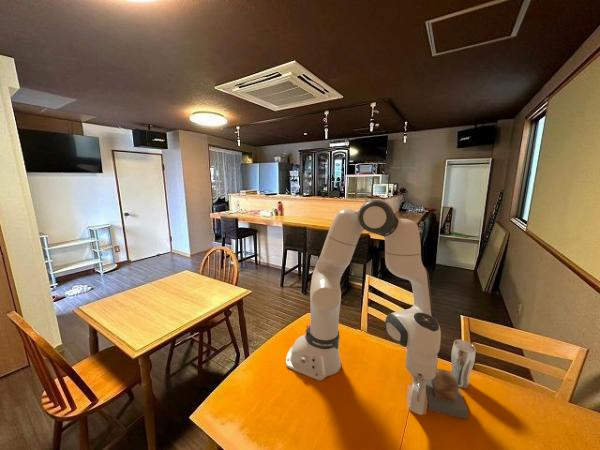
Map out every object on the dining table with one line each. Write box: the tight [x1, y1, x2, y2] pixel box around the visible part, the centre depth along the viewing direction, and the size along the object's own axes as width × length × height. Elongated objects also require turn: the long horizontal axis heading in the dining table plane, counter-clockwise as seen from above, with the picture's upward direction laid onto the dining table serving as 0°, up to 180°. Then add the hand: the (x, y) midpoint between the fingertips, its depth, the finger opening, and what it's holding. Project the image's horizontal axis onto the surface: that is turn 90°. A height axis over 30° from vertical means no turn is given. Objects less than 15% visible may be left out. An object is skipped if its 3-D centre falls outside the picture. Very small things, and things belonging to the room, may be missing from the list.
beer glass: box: [450, 339, 477, 389], centre depth 87 cm, size 7×7×15 cm
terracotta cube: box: [406, 384, 428, 416], centre depth 78 cm, size 5×5×5 cm
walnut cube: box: [431, 368, 460, 402], centre depth 80 cm, size 6×6×6 cm
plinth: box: [426, 380, 469, 420], centre depth 81 cm, size 11×11×3 cm
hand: (416, 400), depth 79 cm, fingers closed on terracotta cube, 5 cm apart
